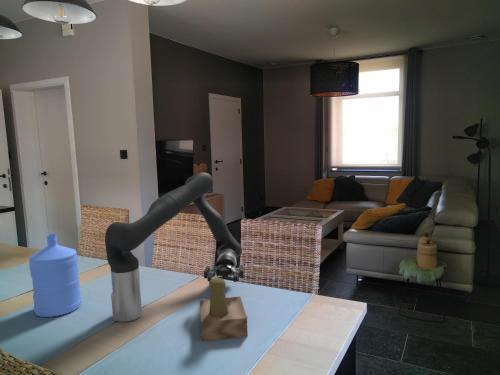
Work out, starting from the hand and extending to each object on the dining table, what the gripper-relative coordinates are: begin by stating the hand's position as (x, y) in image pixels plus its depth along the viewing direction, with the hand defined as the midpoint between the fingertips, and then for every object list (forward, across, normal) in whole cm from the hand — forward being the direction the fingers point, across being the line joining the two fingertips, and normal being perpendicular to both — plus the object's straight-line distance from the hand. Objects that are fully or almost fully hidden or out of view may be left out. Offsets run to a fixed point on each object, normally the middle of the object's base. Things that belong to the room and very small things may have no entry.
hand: (222, 279), depth 127 cm
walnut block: (+8, 0, +13) cm, 15 cm away
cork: (+11, 0, +7) cm, 13 cm away
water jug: (-8, -62, +13) cm, 64 cm away
